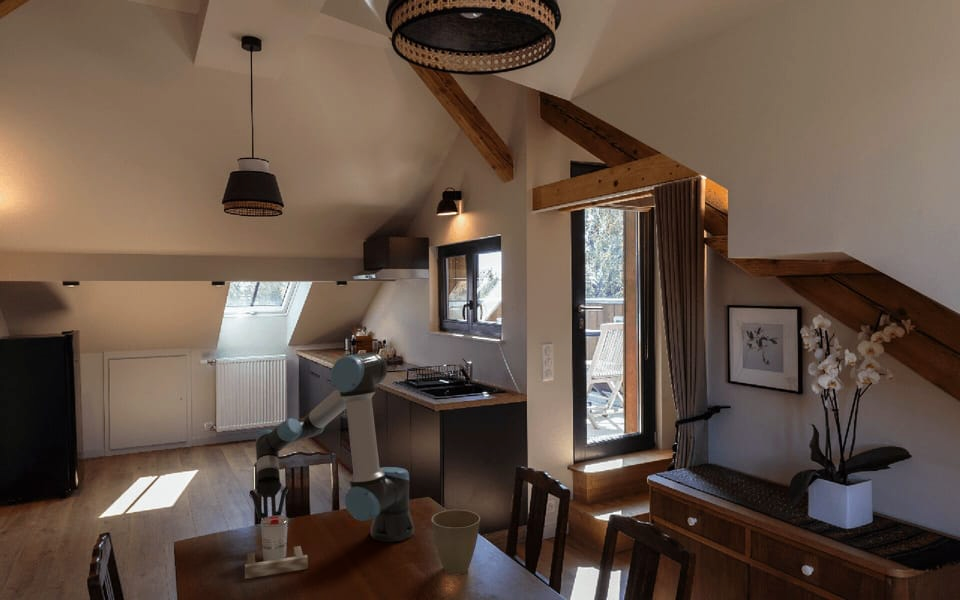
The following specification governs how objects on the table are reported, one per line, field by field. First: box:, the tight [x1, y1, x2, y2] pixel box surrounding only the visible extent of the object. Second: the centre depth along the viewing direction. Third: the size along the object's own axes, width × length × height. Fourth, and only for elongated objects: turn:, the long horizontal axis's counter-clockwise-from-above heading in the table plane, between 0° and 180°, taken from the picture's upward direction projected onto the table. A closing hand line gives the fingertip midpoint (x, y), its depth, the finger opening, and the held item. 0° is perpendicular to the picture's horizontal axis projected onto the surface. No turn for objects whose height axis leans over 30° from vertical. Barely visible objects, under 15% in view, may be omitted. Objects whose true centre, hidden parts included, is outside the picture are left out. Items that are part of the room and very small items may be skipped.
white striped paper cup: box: [258, 515, 291, 561], centre depth 198 cm, size 10×8×12 cm
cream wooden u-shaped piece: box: [244, 545, 309, 580], centre depth 192 cm, size 18×11×4 cm, turn 112°
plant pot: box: [431, 509, 481, 575], centre depth 189 cm, size 15×15×16 cm
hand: (270, 536), depth 202 cm, fingers closed
